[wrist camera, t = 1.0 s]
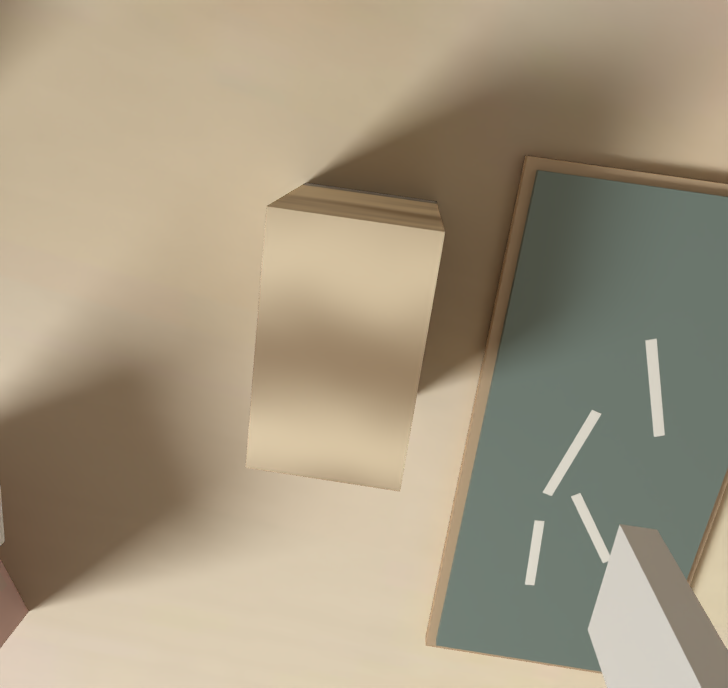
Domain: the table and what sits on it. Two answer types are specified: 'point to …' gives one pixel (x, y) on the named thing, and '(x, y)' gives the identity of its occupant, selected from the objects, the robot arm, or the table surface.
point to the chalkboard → (588, 406)
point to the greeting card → (9, 606)
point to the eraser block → (341, 333)
